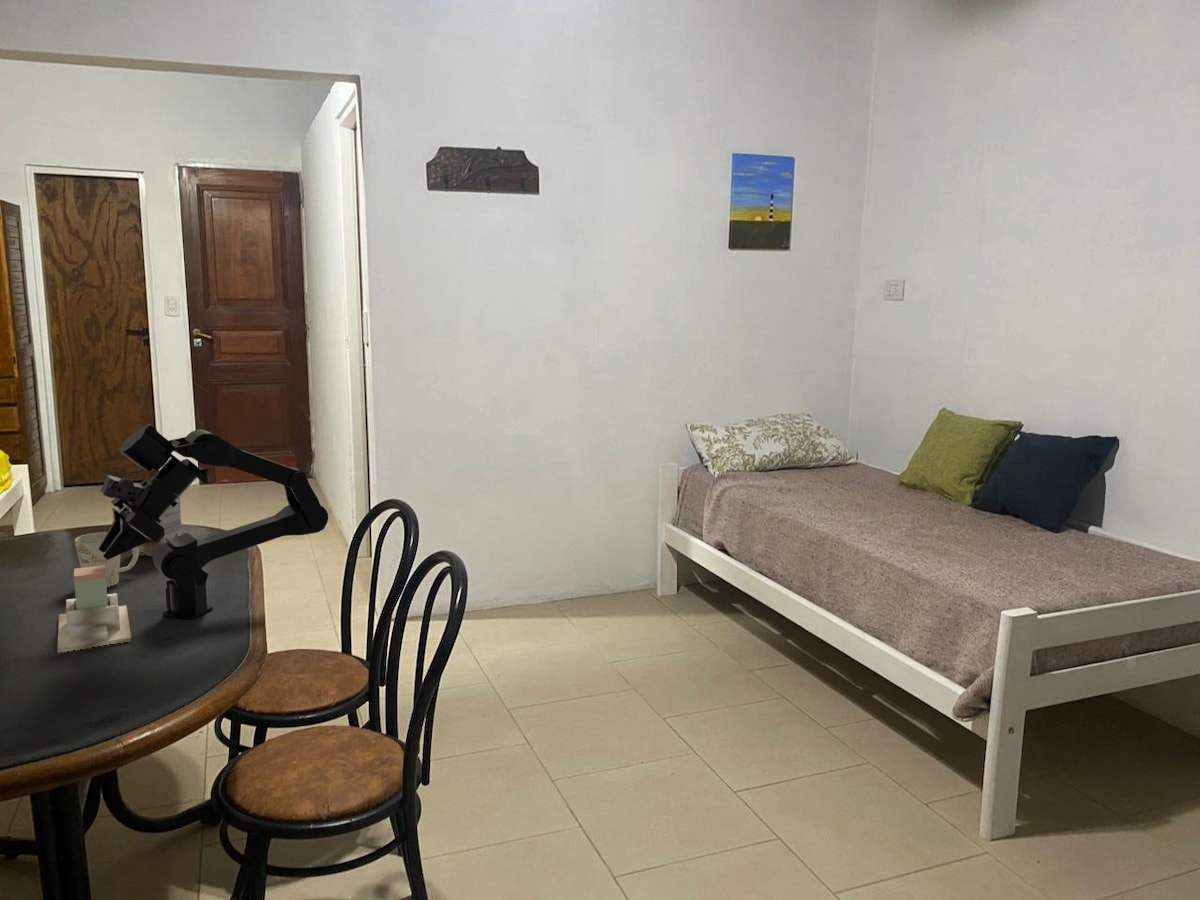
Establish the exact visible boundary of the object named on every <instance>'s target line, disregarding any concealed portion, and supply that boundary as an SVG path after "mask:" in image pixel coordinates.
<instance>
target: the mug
mask: <svg viewBox="0 0 1200 900" xmlns="http://www.w3.org/2000/svg"><path fill="white" fill-rule="evenodd" d="M107 532H108V531H100V532H93V533H86V534H83V535H79V536H77V537H76V538H75V539H74V544H75V548H76V549H75V550H76V553H77V557H78V561H79V565H80V568H85V567H94V566H103V565H105V574H106V587H108V588H111V587H110V586H112V585H115V584H116V585H118V584H119V579H120V573H124V572H126V571H129V570H130V569H132V568H133V567H134V566H135V564H136V563H137V561H138V559H139V556H140V555H139V549H138V546H137V547H135V548H133V549H131V551H132V550H133V554H132V557H131V560H130V562H129V563H128V565H127V566H122V567H120V566H121V554H120V555H117V556H115V557H113V558H111V559H109V560H107V559H106V558H104V557H103V555H104V553H105V552H101V551H100V550H99V547H100V545H101V543H102V541H103V539H104V538H105V536H106V534H107ZM117 583H118V584H117ZM116 585H115V586H116ZM112 587H113V586H112Z"/></svg>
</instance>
